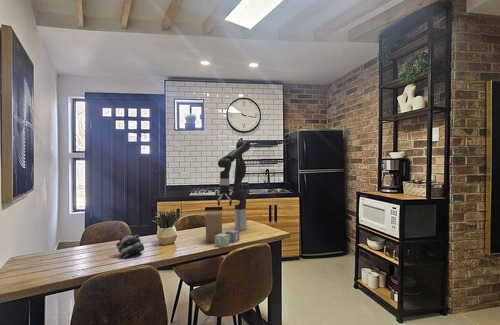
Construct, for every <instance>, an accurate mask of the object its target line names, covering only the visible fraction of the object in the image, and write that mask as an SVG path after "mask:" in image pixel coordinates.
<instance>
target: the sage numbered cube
mask: <svg viewBox="0 0 500 325" xmlns="http://www.w3.org/2000/svg"><path fill="white" fill-rule="evenodd" d="M214 246H215V247H220V248H224V247H227V246H230V242H229V234H226V233H223V232H222V233H220V234H217V235H215V242H214Z"/></svg>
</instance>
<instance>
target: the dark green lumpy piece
mask: <svg viewBox="0 0 500 325" xmlns="http://www.w3.org/2000/svg"><path fill="white" fill-rule="evenodd" d="M115 246H116V248H117V250H118V252H119V257H120V258H121V257H124V258H123V259H125V258H127V257H130V256H132V255H135V254H139V253H141V252H143V251H144V250H145V246H144V244H143V243H142V242H141V238H140V235H139V234H134V233H131V234H129V235H126V236H124V237H123V238H121V237H120V239H119V241H118V242H116V243H115Z"/></svg>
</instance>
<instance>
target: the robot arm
mask: <svg viewBox="0 0 500 325" xmlns="http://www.w3.org/2000/svg"><path fill="white" fill-rule="evenodd" d="M250 149H251V142H250V141H249V140H247V139H243V140H238V141H237V142H236V146H235V149H233V150H231V151H230V152H228V154H227V155H225V156H223V157H221V158H219V160H218V162H217V165H218V167H219V168H221V169H224V170H221V171H220V172H219V178H220V179H219V191H216V192H215V193H214V194H215V196H214V199H215V201H217V206H221V199H224V198H225V199H228V201H229V203H228V204H229V207H231V206H232V204H233V201H239V203H238V204H235V205H234V230H237V231H239V232H240V231H241V232H242V231H247V226H248V225H247V214H246V212H247V211H246V210H247V209H246V208H247V191H246V190H245V189H240V185H241V183H242V181H243V180H244V179H245V177H246V175H247V174H246V173H247V164H246V163H245V160H244V158H243V154H244V153H246V152H248V151H249V150H250ZM234 161H235V169H234V180H233V181H234V183H233V187H232V192H231V190H230V184H231V183H230V172H231V167H232V165H233V164H232V163H233V162H234ZM230 195H231V196H230ZM218 196H219V197H218Z"/></svg>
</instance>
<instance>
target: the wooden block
mask: <svg viewBox="0 0 500 325" xmlns="http://www.w3.org/2000/svg"><path fill="white" fill-rule="evenodd" d="M222 216H223V214H222V212H221V211H209V212H207V213H206V214H205V241H206V243H215V235H217V234H220V233H223V217H222Z"/></svg>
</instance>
